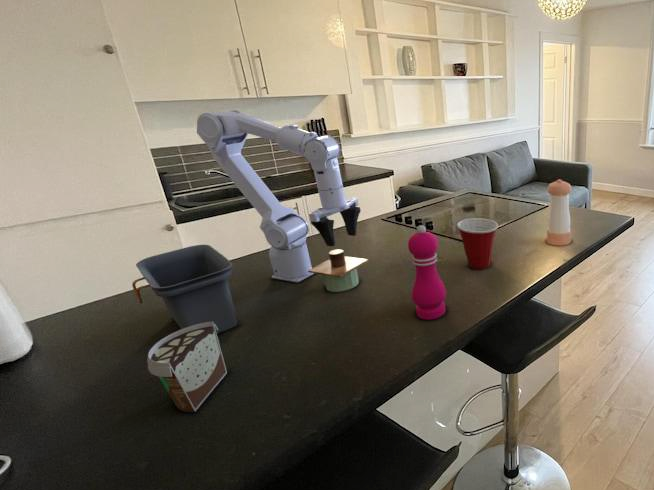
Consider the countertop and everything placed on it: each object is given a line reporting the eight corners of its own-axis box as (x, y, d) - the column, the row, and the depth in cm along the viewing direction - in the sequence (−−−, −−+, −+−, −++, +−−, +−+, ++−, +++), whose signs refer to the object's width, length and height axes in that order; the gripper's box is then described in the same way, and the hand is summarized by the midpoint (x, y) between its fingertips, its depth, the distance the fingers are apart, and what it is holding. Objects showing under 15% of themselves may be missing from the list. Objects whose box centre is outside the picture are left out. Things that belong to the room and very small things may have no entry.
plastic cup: (495, 274, 105) (493, 230, 101) (455, 272, 107) (451, 229, 103) (503, 257, 115) (502, 217, 110) (466, 256, 117) (463, 216, 113)
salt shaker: (574, 239, 126) (576, 178, 119) (564, 247, 120) (566, 183, 113) (553, 235, 130) (553, 176, 123) (542, 243, 124) (542, 181, 117)
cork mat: (308, 272, 99) (304, 257, 98) (337, 256, 108) (334, 242, 106) (340, 277, 96) (337, 262, 94) (368, 261, 104) (365, 246, 103)
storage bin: (256, 325, 87) (237, 264, 82) (167, 361, 76) (138, 294, 71) (224, 296, 100) (206, 242, 95) (145, 323, 90) (119, 264, 84)
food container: (196, 370, 73) (177, 322, 70) (231, 367, 74) (214, 319, 70) (146, 422, 62) (121, 369, 58) (189, 418, 62) (166, 365, 59)
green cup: (318, 289, 102) (314, 271, 100) (341, 275, 108) (337, 258, 107) (344, 293, 99) (340, 275, 97) (365, 279, 106) (362, 262, 104)
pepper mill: (453, 306, 91) (445, 221, 83) (438, 323, 85) (428, 232, 77) (424, 302, 93) (414, 218, 86) (408, 318, 87) (395, 230, 79)
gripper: (320, 196, 91) (333, 252, 96) (363, 181, 103) (372, 232, 108) (297, 194, 94) (310, 249, 99) (342, 180, 106) (352, 230, 111)
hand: (341, 240), depth 104 cm, fingers open, 7 cm apart
